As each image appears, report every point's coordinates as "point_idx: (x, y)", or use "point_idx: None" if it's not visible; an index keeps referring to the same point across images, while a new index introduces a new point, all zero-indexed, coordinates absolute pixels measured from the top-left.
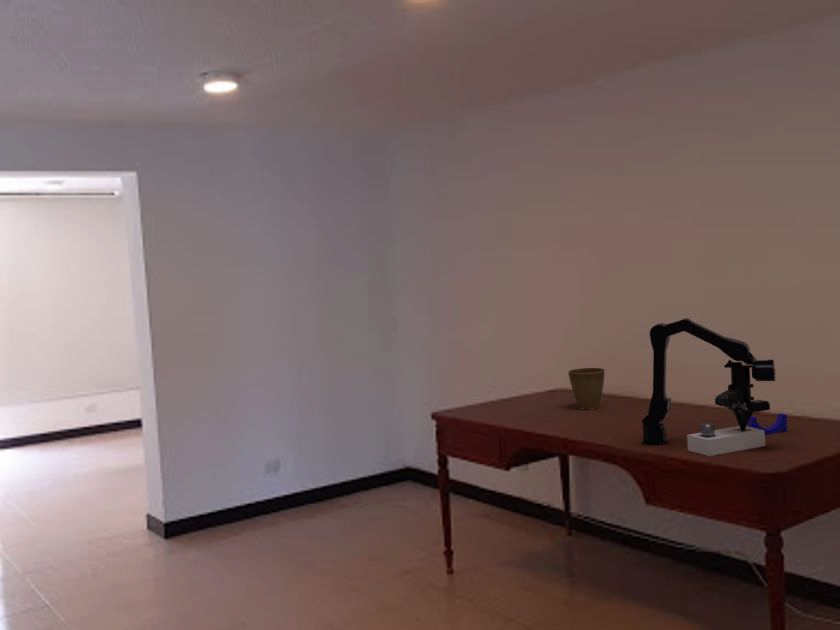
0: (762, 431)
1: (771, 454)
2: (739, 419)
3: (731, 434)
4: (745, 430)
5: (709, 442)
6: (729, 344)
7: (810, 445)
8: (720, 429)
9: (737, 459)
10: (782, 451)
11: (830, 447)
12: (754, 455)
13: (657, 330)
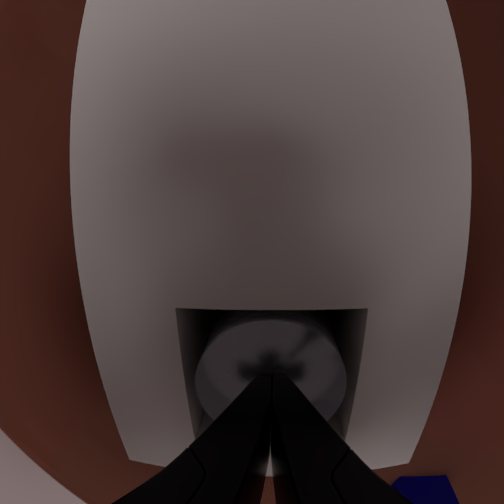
0: (126, 441)
1: (2, 255)
2: (283, 459)
3: (133, 93)
4: (205, 371)
5: None
6: None
7: (96, 479)
8: (461, 198)
9: (23, 41)
10: (31, 344)
11: (54, 476)
12: (19, 163)
13: None
